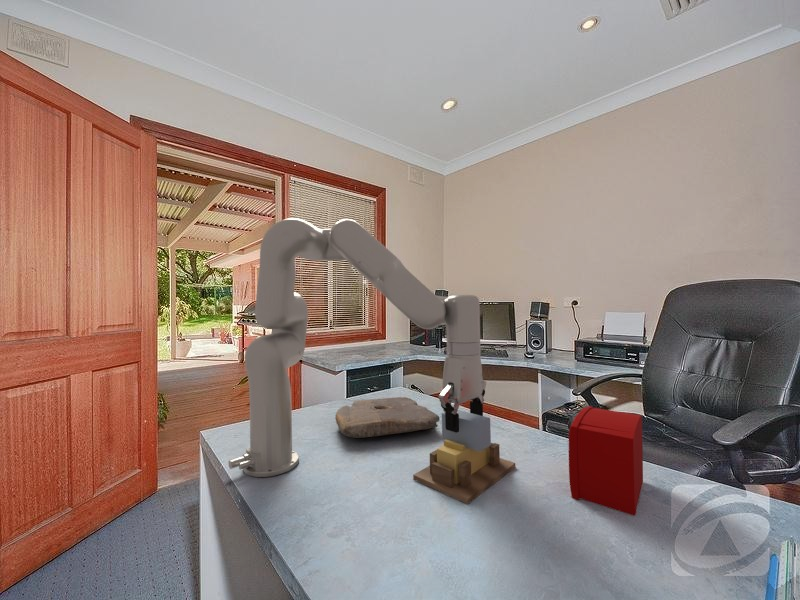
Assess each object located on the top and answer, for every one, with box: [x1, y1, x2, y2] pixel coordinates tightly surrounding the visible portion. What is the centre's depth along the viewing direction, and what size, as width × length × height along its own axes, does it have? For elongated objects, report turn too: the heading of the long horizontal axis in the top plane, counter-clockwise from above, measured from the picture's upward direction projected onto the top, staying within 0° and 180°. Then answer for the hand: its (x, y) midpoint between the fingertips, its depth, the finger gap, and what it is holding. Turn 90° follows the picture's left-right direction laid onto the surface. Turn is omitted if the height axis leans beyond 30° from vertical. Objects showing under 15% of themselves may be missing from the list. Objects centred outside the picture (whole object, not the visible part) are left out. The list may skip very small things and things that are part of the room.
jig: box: [412, 442, 516, 505], centre depth 78 cm, size 20×14×6 cm
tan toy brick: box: [436, 439, 490, 485], centre depth 79 cm, size 14×5×7 cm, turn 136°
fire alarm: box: [568, 405, 644, 517], centre depth 71 cm, size 16×11×15 cm
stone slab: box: [335, 396, 440, 439], centre depth 111 cm, size 31×29×6 cm
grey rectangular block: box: [441, 409, 492, 452], centre depth 79 cm, size 4×10×6 cm, turn 45°
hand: (464, 424), depth 79 cm, fingers open, 9 cm apart
